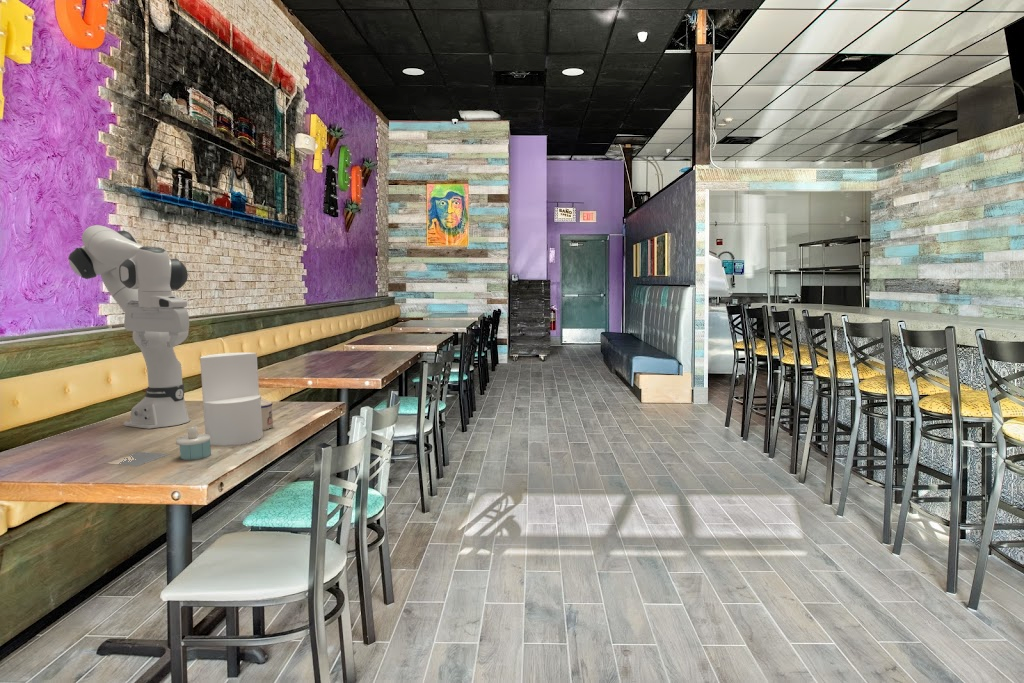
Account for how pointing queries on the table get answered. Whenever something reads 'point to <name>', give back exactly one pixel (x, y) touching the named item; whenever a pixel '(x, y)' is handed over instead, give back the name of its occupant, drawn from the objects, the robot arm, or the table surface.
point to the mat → (142, 458)
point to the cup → (195, 451)
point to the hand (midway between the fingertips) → (157, 346)
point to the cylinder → (231, 398)
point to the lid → (193, 437)
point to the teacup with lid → (266, 414)
